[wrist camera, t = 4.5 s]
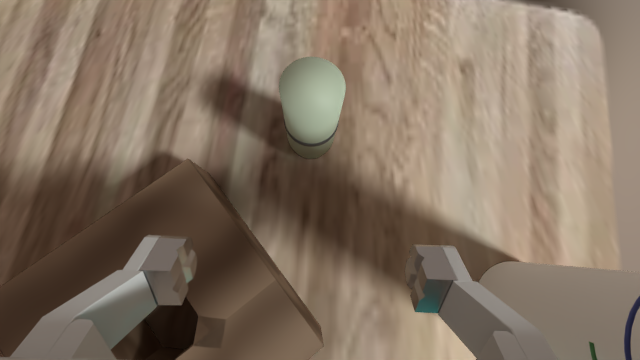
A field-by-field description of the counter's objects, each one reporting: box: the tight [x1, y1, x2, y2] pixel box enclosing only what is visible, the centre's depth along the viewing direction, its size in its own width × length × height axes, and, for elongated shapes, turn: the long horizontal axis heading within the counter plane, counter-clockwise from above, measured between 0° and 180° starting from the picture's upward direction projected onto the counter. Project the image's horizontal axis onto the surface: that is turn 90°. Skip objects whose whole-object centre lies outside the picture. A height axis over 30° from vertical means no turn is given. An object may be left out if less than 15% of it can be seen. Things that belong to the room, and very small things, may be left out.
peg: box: [279, 57, 346, 159], centre depth 23 cm, size 4×4×10 cm
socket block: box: [0, 159, 324, 360], centre depth 22 cm, size 16×16×5 cm
